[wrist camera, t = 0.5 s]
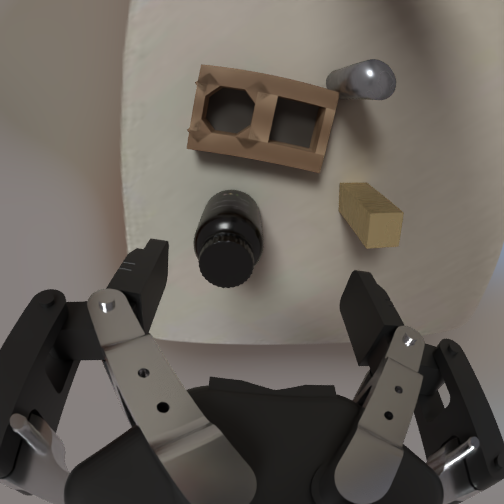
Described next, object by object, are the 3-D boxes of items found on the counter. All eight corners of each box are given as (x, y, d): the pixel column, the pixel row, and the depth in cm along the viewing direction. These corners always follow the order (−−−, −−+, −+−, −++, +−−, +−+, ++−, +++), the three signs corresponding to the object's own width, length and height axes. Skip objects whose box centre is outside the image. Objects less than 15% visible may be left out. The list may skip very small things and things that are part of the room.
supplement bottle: (259, 239, 37) (264, 298, 27) (206, 239, 37) (190, 298, 26) (260, 187, 34) (266, 230, 23) (202, 188, 34) (181, 230, 23)
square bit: (339, 182, 33) (370, 213, 25) (366, 182, 33) (403, 212, 25) (338, 210, 35) (366, 248, 26) (364, 209, 35) (398, 246, 26)
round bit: (329, 65, 26) (361, 53, 18) (358, 75, 27) (399, 69, 18) (323, 93, 28) (353, 91, 19) (352, 102, 29) (391, 105, 20)
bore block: (203, 68, 27) (198, 64, 24) (330, 93, 28) (339, 92, 25) (190, 143, 31) (184, 148, 28) (312, 166, 32) (319, 173, 29)
